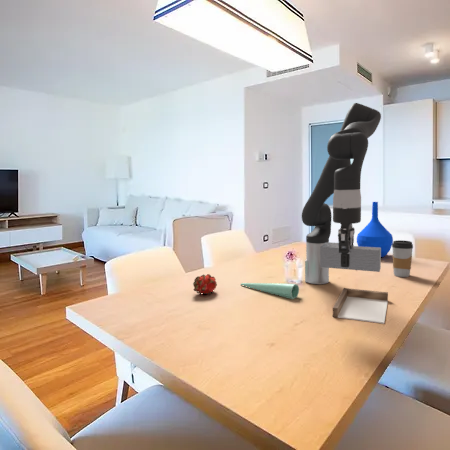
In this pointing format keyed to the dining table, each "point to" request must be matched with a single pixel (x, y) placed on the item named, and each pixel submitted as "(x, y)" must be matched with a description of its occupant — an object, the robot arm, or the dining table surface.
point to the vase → (375, 234)
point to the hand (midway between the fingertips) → (346, 264)
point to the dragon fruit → (204, 284)
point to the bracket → (351, 257)
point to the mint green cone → (276, 288)
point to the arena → (358, 294)
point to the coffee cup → (402, 257)
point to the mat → (364, 309)
